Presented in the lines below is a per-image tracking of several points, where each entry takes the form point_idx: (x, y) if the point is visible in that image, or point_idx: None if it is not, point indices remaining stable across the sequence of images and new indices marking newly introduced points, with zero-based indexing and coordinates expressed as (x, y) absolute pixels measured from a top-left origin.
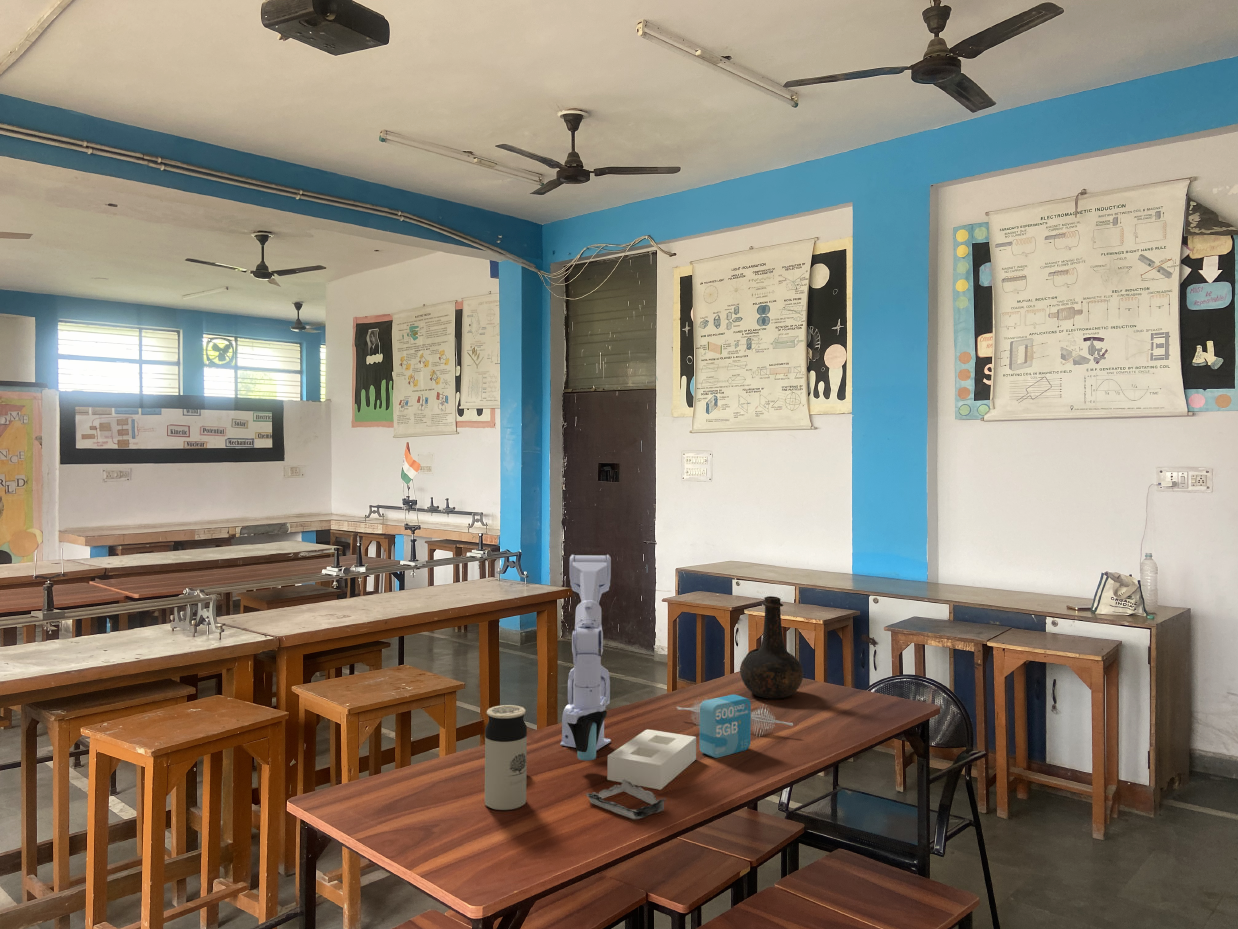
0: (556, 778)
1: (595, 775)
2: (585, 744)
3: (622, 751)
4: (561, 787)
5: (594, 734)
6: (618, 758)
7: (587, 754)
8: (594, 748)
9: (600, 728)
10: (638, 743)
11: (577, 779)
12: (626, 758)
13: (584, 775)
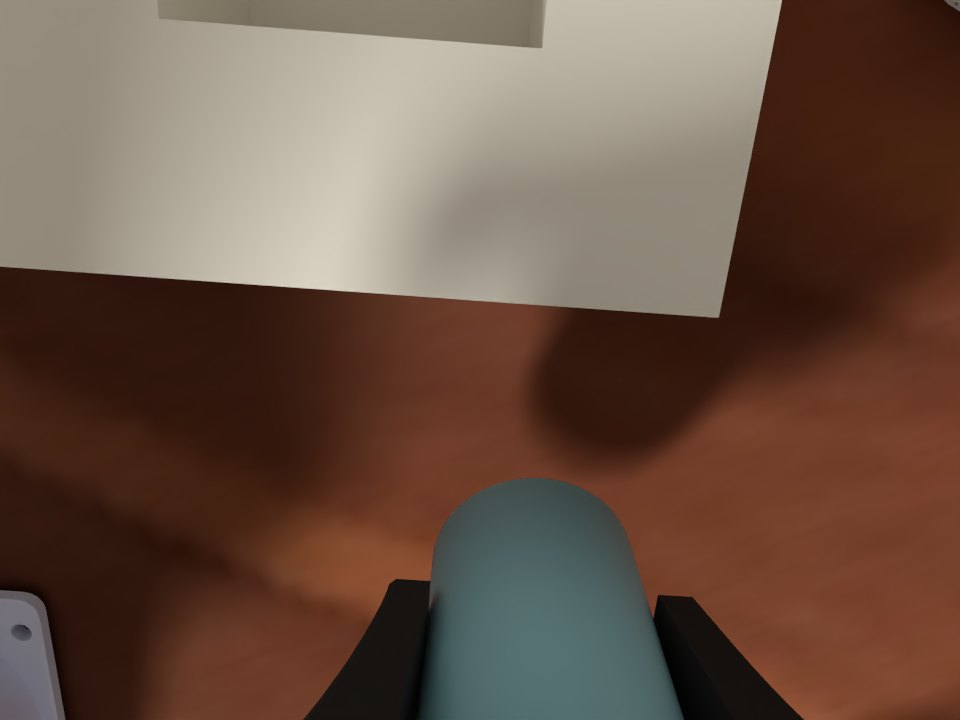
0: (746, 625)
1: (575, 385)
2: (748, 665)
3: (475, 189)
4: (930, 525)
5: (594, 693)
6: (753, 141)
7: (633, 565)
8: (565, 551)
9: (322, 714)
10: (12, 92)
11: (719, 483)
12: (755, 7)
13: (610, 468)
